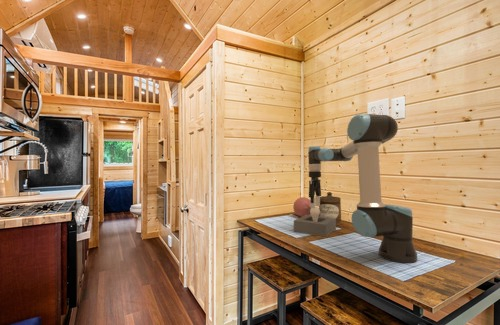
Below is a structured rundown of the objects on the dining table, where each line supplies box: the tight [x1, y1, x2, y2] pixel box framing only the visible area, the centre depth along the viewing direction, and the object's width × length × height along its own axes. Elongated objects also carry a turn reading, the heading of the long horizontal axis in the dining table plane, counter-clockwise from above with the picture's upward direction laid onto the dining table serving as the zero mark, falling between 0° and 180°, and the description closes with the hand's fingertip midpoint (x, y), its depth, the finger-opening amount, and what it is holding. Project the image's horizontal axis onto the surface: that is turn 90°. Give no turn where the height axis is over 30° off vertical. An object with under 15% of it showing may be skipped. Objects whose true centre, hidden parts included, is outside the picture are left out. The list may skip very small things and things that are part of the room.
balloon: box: [292, 196, 311, 218], centre depth 198 cm, size 15×20×15 cm
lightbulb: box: [310, 206, 320, 222], centre depth 161 cm, size 6×6×11 cm
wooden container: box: [318, 191, 342, 227], centre depth 179 cm, size 15×15×22 cm
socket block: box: [293, 214, 337, 238], centre depth 161 cm, size 20×20×7 cm
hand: (315, 207), depth 161 cm, fingers open, 8 cm apart
